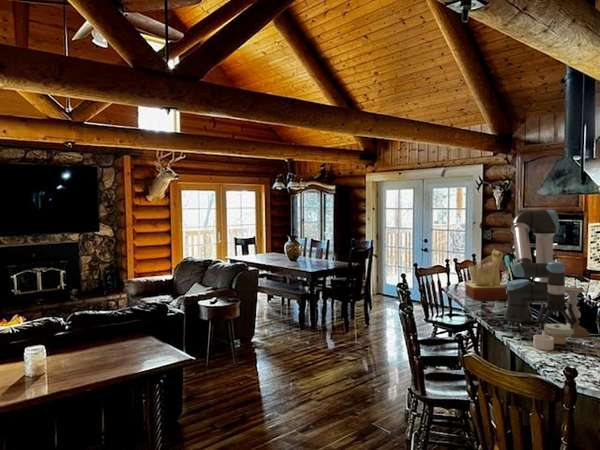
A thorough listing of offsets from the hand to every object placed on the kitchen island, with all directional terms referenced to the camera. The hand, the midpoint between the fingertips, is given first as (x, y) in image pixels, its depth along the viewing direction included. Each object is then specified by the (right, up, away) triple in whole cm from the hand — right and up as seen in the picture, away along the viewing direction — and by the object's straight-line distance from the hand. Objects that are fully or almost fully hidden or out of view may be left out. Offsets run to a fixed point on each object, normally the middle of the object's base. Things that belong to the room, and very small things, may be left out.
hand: (556, 336), depth 221 cm
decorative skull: (+28, +5, +143) cm, 145 cm away
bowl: (-11, -3, -8) cm, 14 cm away
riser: (0, -3, 0) cm, 3 cm away
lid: (0, +3, 0) cm, 3 cm away
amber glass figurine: (+9, +2, +105) cm, 105 cm away
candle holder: (+15, -2, +12) cm, 19 cm away
